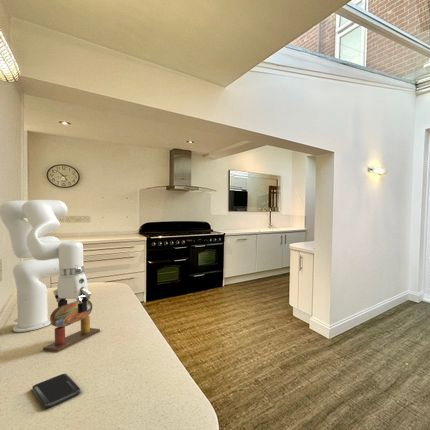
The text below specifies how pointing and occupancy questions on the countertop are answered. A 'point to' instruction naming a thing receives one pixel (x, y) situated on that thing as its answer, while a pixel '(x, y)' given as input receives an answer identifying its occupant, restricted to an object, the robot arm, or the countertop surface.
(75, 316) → the tin
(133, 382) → the countertop surface
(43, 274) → the robot arm
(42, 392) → the phone
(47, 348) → the rod stand
